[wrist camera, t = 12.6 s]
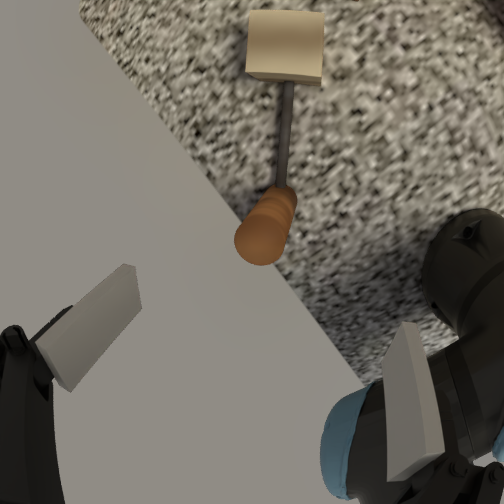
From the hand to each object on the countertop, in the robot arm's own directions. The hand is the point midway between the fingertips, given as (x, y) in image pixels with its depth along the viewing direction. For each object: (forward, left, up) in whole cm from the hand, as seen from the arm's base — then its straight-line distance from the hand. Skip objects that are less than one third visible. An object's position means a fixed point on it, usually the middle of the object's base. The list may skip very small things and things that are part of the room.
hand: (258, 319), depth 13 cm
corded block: (+8, +2, -19) cm, 21 cm away
